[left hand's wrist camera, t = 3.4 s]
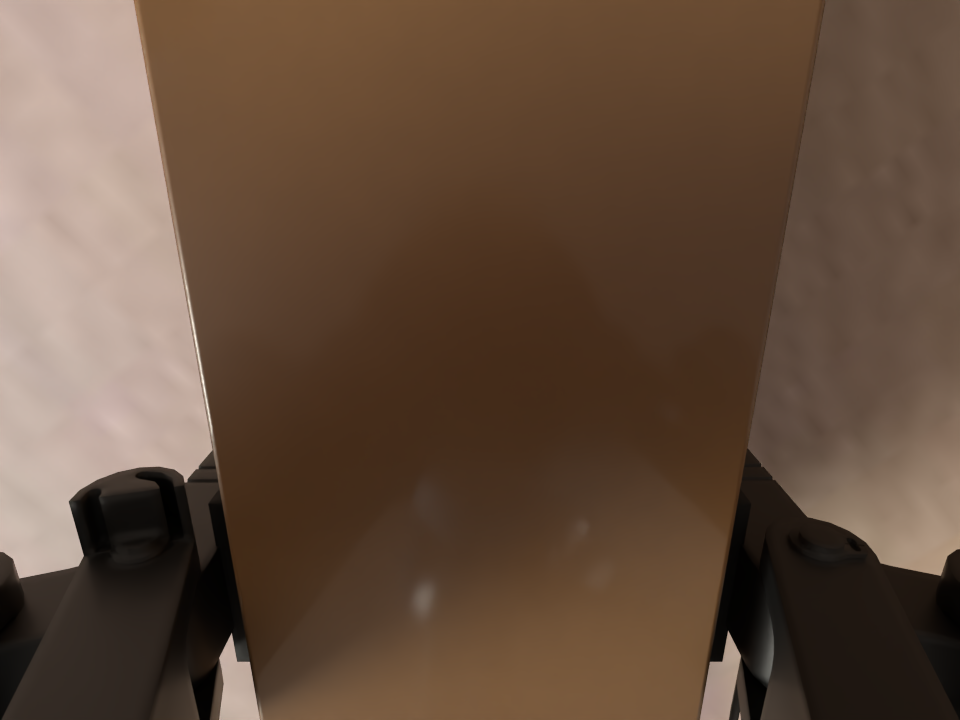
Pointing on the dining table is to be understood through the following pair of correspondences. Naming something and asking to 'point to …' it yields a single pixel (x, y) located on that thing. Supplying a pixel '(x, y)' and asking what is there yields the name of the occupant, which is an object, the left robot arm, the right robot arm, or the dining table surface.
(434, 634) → the bar
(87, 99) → the dining table surface
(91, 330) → the dining table surface
